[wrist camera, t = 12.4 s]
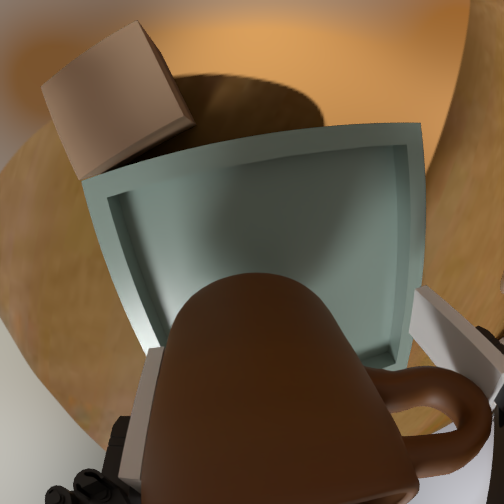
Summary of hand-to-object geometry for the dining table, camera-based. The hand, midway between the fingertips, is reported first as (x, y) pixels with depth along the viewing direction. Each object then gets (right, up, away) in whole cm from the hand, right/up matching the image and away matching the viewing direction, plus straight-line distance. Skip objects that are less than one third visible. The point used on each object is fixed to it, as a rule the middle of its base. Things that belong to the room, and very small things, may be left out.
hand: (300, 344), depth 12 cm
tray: (0, +2, +5) cm, 6 cm away
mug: (0, 0, +1) cm, 1 cm away
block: (-8, +12, +1) cm, 15 cm away
